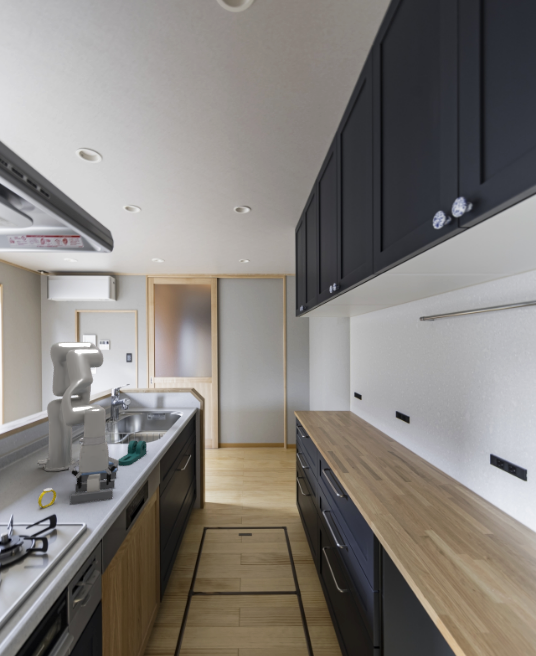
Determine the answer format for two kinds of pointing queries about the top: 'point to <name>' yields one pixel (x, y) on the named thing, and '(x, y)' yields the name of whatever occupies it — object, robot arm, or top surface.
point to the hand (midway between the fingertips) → (94, 485)
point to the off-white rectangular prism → (93, 483)
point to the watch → (44, 494)
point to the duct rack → (97, 494)
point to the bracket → (133, 453)
